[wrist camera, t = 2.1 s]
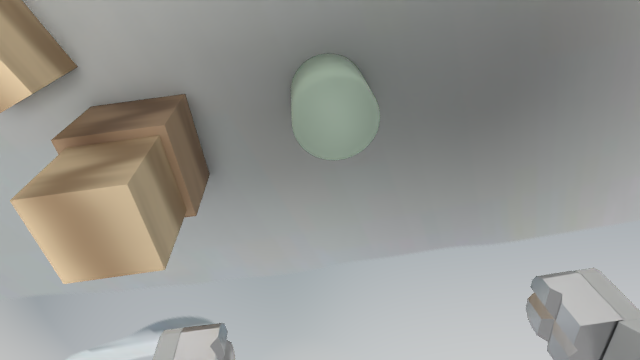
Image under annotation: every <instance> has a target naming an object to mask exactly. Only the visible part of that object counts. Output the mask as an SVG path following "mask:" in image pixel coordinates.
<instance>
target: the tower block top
mask: <svg viewBox="0 0 640 360" xmlns="http://www.w3.org/2000/svg"><path fill="white" fill-rule="evenodd" d="M10 202H11V203H12V205H13V206H14V208H15V209H16V211H17V213H18V214H19V216H20V217H21V219H22V220H23V222H24V223H25V225H26V226H27V228H28V230H29V231H30V233H31V234H32V236H33V237H34V239H35V240H36V242H37V243H38V245H39V247H40V248H41V250H42V251H43V253H44V254H45V256H46V257H47V259H48V260H49V262H50V264H51V265H52V267H53V268H54V270H55V271H56V273H57V274H58V276H59V277H60V279H61V281H62V282H63V284H67V283H74V282H81V281H89V280H96V279H103V278H110V277H117V276H124V275H131V274H139V273H146V272H153V271H160V270H165V268H166V266H167V263H168V260H169V258H170V255H171V252H172V249H173V247H174V244H175V241H176V238H177V236H178V233H179V230H180V228H181V225H182V222H183V219H184V217H185V214H186V211H187V210H186V207H185V204H184V201H183V199H182V196H181V193H180V190H179V188H178V185H177V182H176V179H175V177H174V174H173V171H172V168H171V166H170V163H169V160H168V157H167V155H166V152H165V149H164V146H163V144H162V141H161V138H160V135H156V136H149V137H142V138H134V139H127V140H120V141H113V142H105V143H98V144H91V145H83V146H76V147H69V148H66V149H64V150H63V151H62V152H61V153H60V154H59V155H58V156H57V157H56V158H55V159H54V160H53V161H52V162H51V163H49V164H48V165H47V166H46V167H45V168H44V169H43V170H42V171H41V172H40V173H39V174H38V175H37V176H36V177H34V178H33V179H32V180H31V181H30V182H29V183H28V184H27V185H26V186H25V187H24V188H23V189H22V190H21V191H19V192H18V193H17V194H16V195H15V196H14V197H13V198H12V199H11V200H10Z"/></svg>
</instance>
